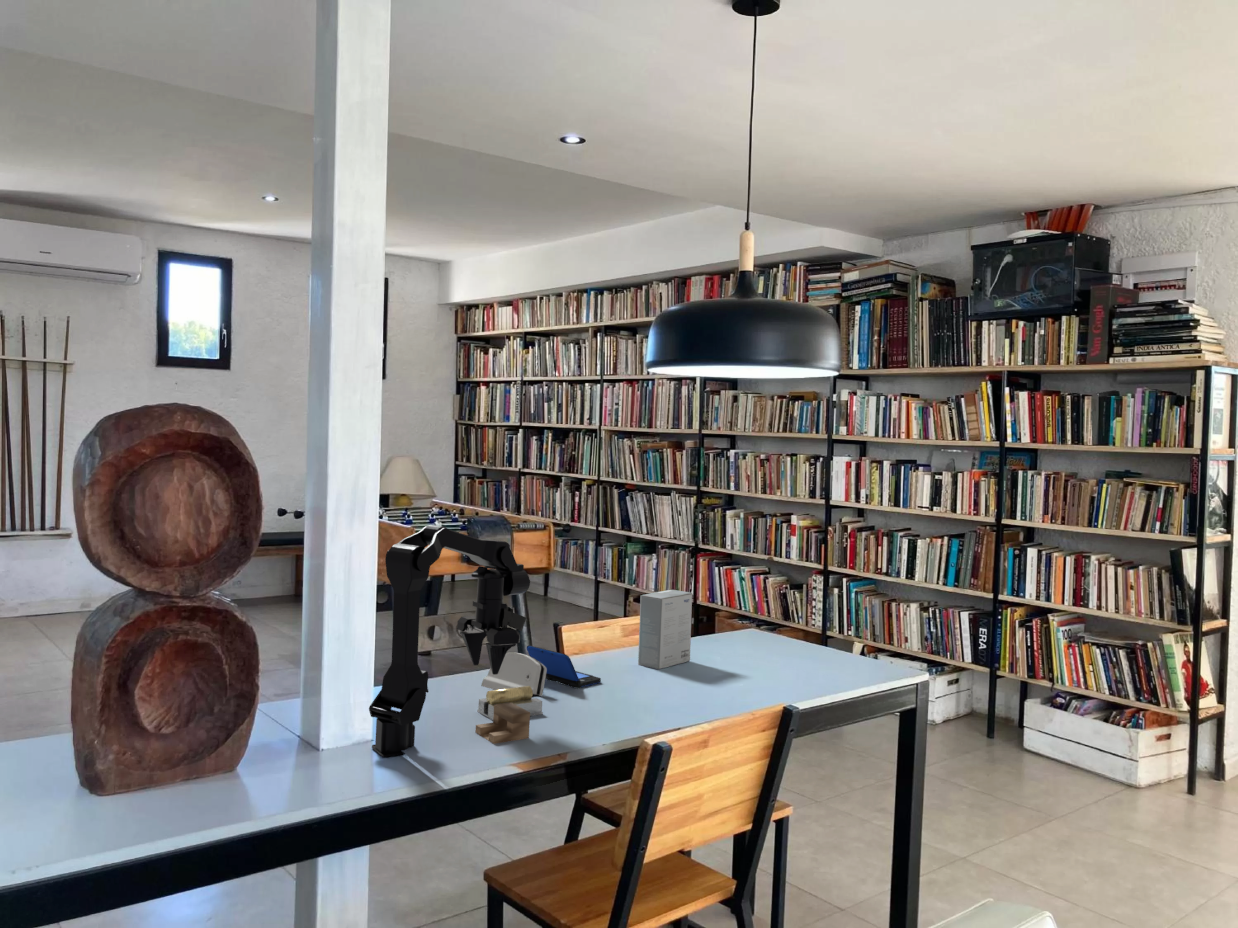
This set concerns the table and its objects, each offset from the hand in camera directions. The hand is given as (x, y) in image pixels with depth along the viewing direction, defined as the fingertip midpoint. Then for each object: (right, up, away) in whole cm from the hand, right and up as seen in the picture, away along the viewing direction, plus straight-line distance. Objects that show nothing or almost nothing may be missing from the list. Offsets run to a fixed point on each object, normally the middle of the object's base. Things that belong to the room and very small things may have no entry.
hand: (485, 669), depth 200 cm
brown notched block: (+5, -12, -11) cm, 17 cm away
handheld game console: (+15, -12, +37) cm, 42 cm away
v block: (+5, -11, +4) cm, 13 cm away
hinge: (+3, -11, +27) cm, 29 cm away
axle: (+5, -8, +4) cm, 10 cm away
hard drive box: (+42, -12, +63) cm, 76 cm away
